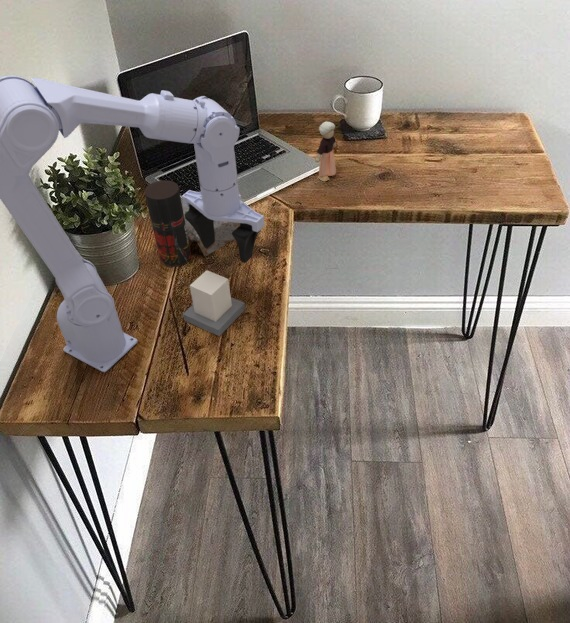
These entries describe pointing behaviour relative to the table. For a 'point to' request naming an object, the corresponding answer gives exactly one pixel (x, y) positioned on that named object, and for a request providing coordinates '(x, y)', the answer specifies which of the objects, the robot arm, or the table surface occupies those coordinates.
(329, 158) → the grandmother figurine
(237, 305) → the slate base
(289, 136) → the table surface
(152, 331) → the table surface
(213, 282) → the cream block
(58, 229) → the robot arm
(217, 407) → the table surface
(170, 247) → the deodorant
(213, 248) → the geological specimen
